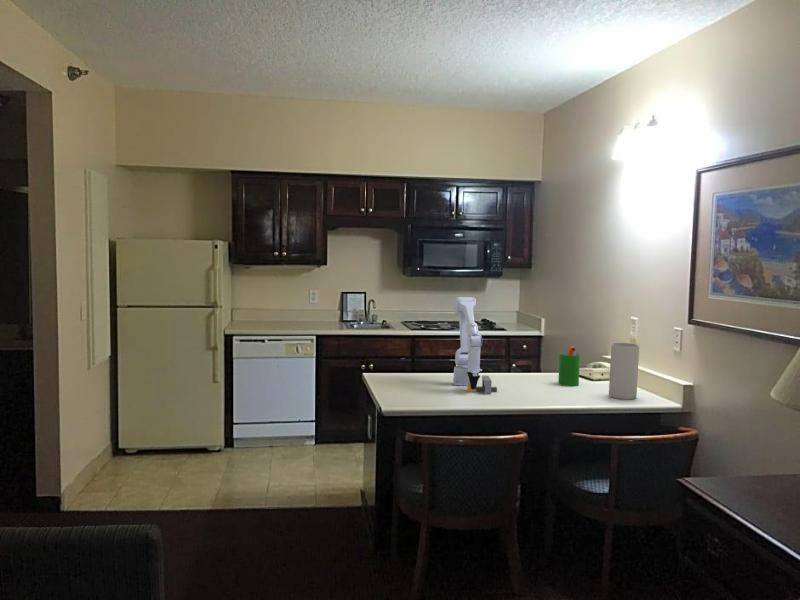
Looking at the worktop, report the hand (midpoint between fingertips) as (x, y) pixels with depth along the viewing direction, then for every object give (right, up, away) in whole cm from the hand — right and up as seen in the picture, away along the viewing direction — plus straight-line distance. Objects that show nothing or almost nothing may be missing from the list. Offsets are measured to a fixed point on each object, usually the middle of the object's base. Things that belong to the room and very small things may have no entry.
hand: (473, 388), depth 316 cm
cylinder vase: (+70, -4, -5) cm, 71 cm away
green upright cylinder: (+52, -1, +20) cm, 55 cm away
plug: (+4, -2, 0) cm, 5 cm away
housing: (+6, -2, 0) cm, 7 cm away
